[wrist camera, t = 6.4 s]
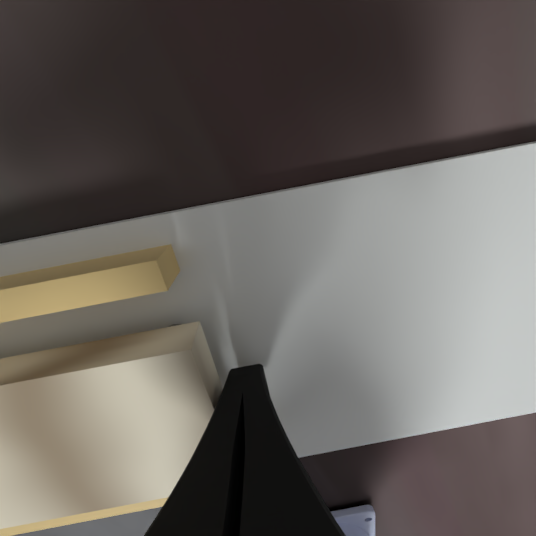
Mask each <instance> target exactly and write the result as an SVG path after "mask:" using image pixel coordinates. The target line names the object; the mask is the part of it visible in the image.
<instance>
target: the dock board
mask: <svg viewBox="0 0 536 536" xmlns="http://www.w3.org/2000/svg"><path fill="white" fill-rule="evenodd" d="M198 321H200V323H201V326H202V329H203V332H204V335H205V338H206V341H207V344H208V347H209V350H210V353H211V355H212V358H213V361H214V364H215V367H216V370H217V373H218V376H219V379H220V382H221V385H222V388H224V385H225V382H226V379H227V376H228V373H229V371H230V370H231V369H233V368H238V367H244V366H249V365H254V364H261V365H263V368H264V372H265V376H266V381H267V385H268V389H269V393H270V398H271V400H272V403H273V405H274V408H275V410H276V413H277V415H278V417H279V420H280V422H281V424H282V426H283V428H284V430H285V432H286V435H287V437H288V439H289V441H290V443H291V445H292V447H293V449H294V450H295V452H296V454H297V456H298V458H300V457H305V456H310V455H316V454H321V453H326V452H331V451H337V450H342V449H347V448H352V447H357V446H363V445H368V444H373V443H378V442H383V441H389V440H394V439H399V438H404V437H410V436H415V435H420V434H425V433H430V432H436V431H441V430H446V429H451V428H457V427H462V426H467V425H472V424H477V423H483V422H488V421H493V420H498V419H503V418H509V417H514V416H519V415H524V414H530V413H535V412H536V141H534V142H529V143H523V144H518V145H513V146H508V147H503V148H497V149H492V150H487V151H482V152H476V153H471V154H466V155H461V156H456V157H450V158H445V159H440V160H435V161H430V162H424V163H419V164H414V165H409V166H403V167H398V168H393V169H388V170H383V171H377V172H372V173H367V174H362V175H356V176H351V177H346V178H341V179H336V180H330V181H325V182H320V183H315V184H309V185H304V186H299V187H294V188H289V189H283V190H278V191H273V192H268V193H263V194H257V195H252V196H247V197H242V198H236V199H231V200H226V201H221V202H216V203H210V204H205V205H200V206H195V207H189V208H184V209H179V210H174V211H169V212H163V213H158V214H153V215H148V216H142V217H137V218H132V219H127V220H122V221H116V222H111V223H106V224H101V225H95V226H90V227H85V228H80V229H75V230H69V231H64V232H59V233H54V234H49V235H43V236H38V237H33V238H28V239H22V240H17V241H12V242H7V243H2V244H0V359H1V358H6V357H12V356H17V355H22V354H28V353H33V352H38V351H44V350H49V349H54V348H59V347H65V346H70V345H75V344H81V343H86V342H91V341H97V340H102V339H107V338H113V337H118V336H123V335H129V334H134V333H139V332H144V331H150V330H155V329H160V328H166V327H169V326H171V325H173V324H187V323H192V322H198ZM167 499H168V497H167V498H161V499H156V500H151V501H145V502H140V503H135V504H130V505H124V506H119V507H114V508H109V509H103V510H98V511H93V512H88V513H82V514H77V515H72V516H67V517H61V518H56V519H51V520H45V521H40V522H35V523H30V524H24V525H19V526H14V527H9V528H3V529H0V536H11V535H17V534H22V533H27V532H32V531H37V530H43V529H48V528H53V527H58V526H64V525H69V524H74V523H79V522H84V521H90V520H95V519H100V518H105V517H110V516H116V515H121V514H126V513H131V512H137V511H142V510H147V509H152V508H157V507H163V505H164V504H165V502H166V500H167Z"/></svg>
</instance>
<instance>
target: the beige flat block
mask: <svg viewBox="0 0 536 536" xmlns="http://www.w3.org/2000/svg"><path fill="white" fill-rule="evenodd" d="M222 390H223V388H222V385H221V382H220V379H219V376H218V373H217V370H216V367H215V364H214V361H213V358H212V355H211V353H210V350H209V347H208V344H207V341H206V338H205V335H204V332H203V329H202V326H201V323H200V321H198V322H192V323H187V324H173V325H171V326H169V327H166V328H160V329H155V330H150V331H144V332H139V333H134V334H129V335H123V336H118V337H113V338H107V339H102V340H97V341H91V342H86V343H81V344H75V345H70V346H65V347H59V348H54V349H49V350H44V351H38V352H33V353H28V354H22V355H17V356H12V357H6V358H1V359H0V529H3V528H9V527H14V526H19V525H24V524H30V523H35V522H40V521H45V520H51V519H56V518H61V517H67V516H72V515H77V514H82V513H88V512H93V511H98V510H103V509H109V508H114V507H119V506H124V505H130V504H135V503H140V502H145V501H151V500H156V499H161V498H167V497H169V496H170V494H171V492H172V491H173V489H174V487H175V486H176V484H177V482H178V480H179V479H180V477H181V475H182V474H183V472H184V470H185V468H186V466H187V465H188V463H189V461H190V459H191V457H192V455H193V453H194V451H195V449H196V447H197V445H198V443H199V441H200V439H201V437H202V435H203V433H204V431H205V429H206V427H207V425H208V423H209V421H210V419H211V416H212V414H213V412H214V409H215V407H216V405H217V403H218V400H219V398H220V395H221V393H222Z"/></svg>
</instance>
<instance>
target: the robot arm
mask: <svg viewBox="0 0 536 536" xmlns="http://www.w3.org/2000/svg"><path fill="white" fill-rule="evenodd" d="M144 536H375V512H374V509H373V506H371V505H362V506H357V507H351V508H346V509H341V510H336V511H331V512H330V510H329V509H328V507H327V505H326V504H325V502H324V501H323V499H322V497H321V496H320V494H319V493H318V491H317V489H316V488H315V486H314V484H313V483H312V481H311V479H310V477H309V476H308V474H307V472H306V470H305V469H304V467H303V465H302V463H301V462H300V460H299V458H298V456H297V454H296V452H295V450H294V449H293V447H292V445H291V443H290V441H289V439H288V437H287V435H286V432H285V430H284V428H283V426H282V424H281V422H280V420H279V417H278V415H277V413H276V410H275V408H274V405H273V403H272V400H271V398H270V393H269V389H268V385H267V381H266V376H265V372H264V368H263V365H261V364H254V365H249V366H244V367H238V368H233V369H231V370H230V371H229V373H228V376H227V379H226V382H225V385H224V388H223V390H222V393H221V395H220V398H219V400H218V403H217V405H216V407H215V409H214V412H213V414H212V416H211V419H210V421H209V423H208V425H207V427H206V429H205V431H204V433H203V435H202V437H201V439H200V441H199V443H198V445H197V447H196V449H195V451H194V453H193V455H192V457H191V459H190V461H189V463H188V465H187V466H186V468H185V470H184V472H183V474H182V475H181V477H180V479H179V480H178V482H177V484H176V486H175V487H174V489H173V491H172V492H171V494H170V496H169V497H168V499H167V500H166V502H165V504H164V505H163V507H162V508H161V510H160V512H159V513H158V515H157V517H156V518H155V520H154V521H153V523H152V524H151V526H150V527H149V529H148V530H147V532H146V533H145V535H144Z"/></svg>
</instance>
